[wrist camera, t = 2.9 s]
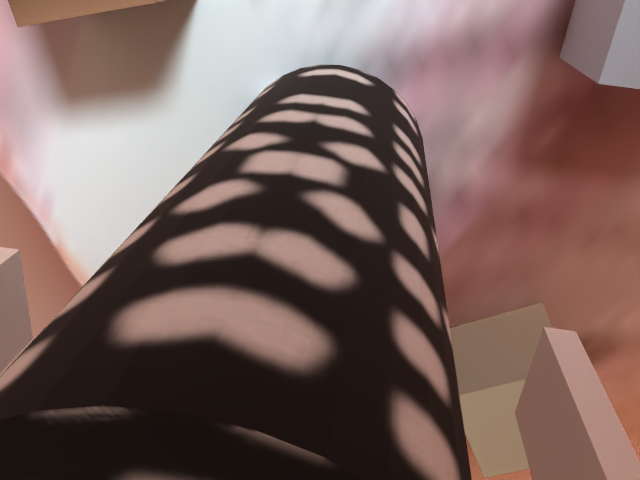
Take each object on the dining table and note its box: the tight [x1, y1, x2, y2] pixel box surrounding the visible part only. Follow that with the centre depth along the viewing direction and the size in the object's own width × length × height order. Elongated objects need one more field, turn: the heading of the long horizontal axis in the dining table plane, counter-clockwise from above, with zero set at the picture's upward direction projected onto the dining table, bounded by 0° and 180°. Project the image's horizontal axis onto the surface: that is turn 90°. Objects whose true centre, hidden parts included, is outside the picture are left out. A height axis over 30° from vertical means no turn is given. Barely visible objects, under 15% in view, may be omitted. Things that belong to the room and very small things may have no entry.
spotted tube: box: [0, 65, 472, 480], centre depth 17 cm, size 8×8×20 cm
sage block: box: [450, 302, 553, 478], centre depth 27 cm, size 5×5×5 cm
